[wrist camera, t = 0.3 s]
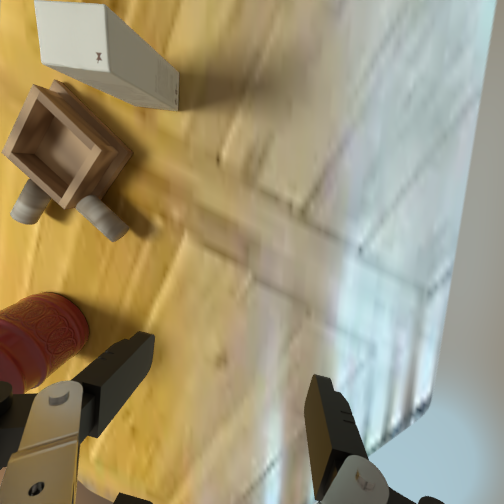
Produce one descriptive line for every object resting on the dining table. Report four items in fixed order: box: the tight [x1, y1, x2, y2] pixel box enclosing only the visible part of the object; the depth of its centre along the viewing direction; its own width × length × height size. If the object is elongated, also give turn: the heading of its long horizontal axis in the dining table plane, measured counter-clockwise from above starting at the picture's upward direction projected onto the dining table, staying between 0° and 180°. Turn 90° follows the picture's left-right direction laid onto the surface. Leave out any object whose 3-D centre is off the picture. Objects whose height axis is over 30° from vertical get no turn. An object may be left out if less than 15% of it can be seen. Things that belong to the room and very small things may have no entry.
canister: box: [0, 292, 89, 394], centre depth 35 cm, size 13×13×18 cm
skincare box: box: [34, 0, 179, 111], centre depth 23 cm, size 6×4×12 cm
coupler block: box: [1, 79, 133, 242], centre depth 32 cm, size 18×18×4 cm
